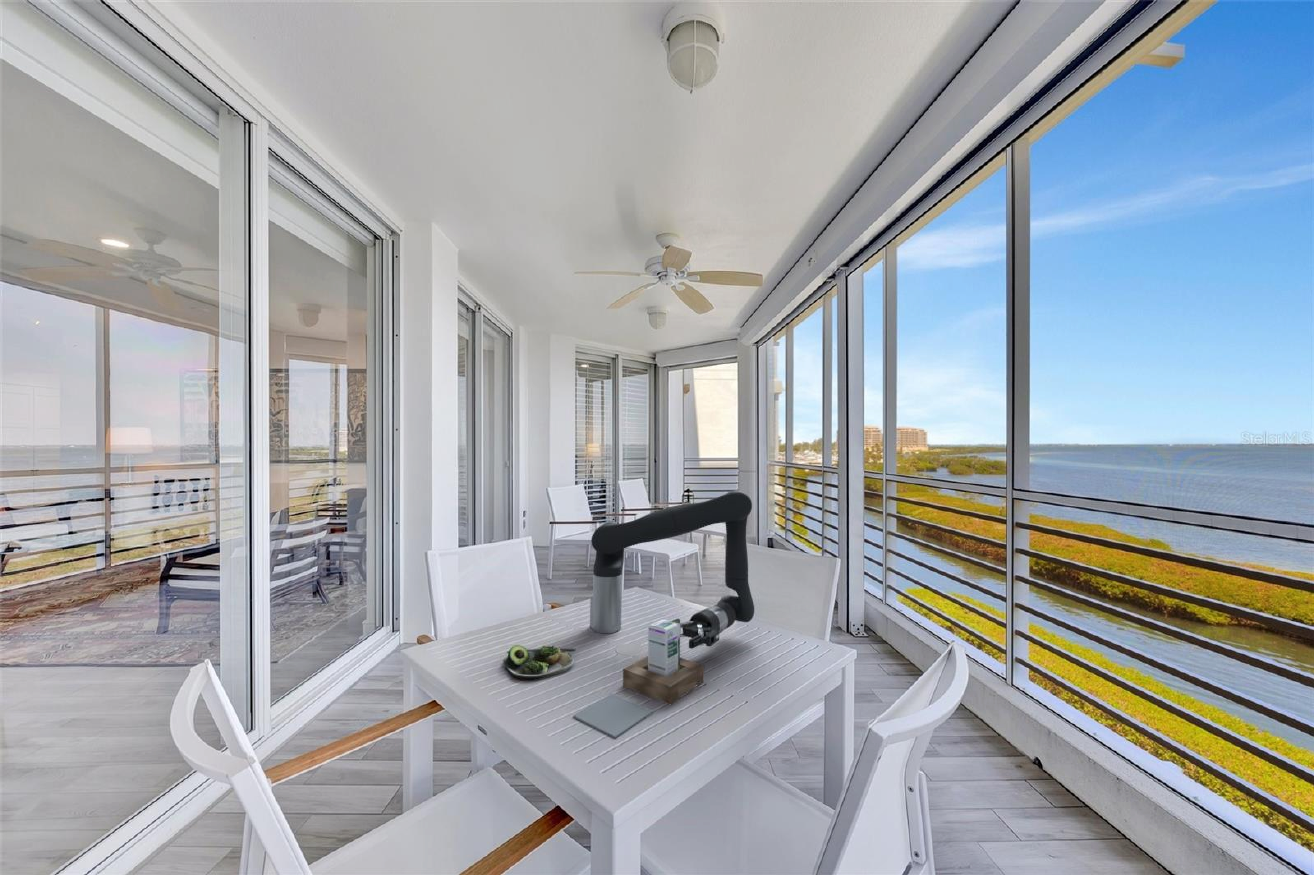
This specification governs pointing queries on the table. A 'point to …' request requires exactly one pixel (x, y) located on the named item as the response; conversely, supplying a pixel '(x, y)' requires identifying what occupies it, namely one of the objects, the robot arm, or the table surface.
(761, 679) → the table surface
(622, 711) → the mat
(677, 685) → the socket block
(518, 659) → the salad plate
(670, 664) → the syrup box
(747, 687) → the table surface
